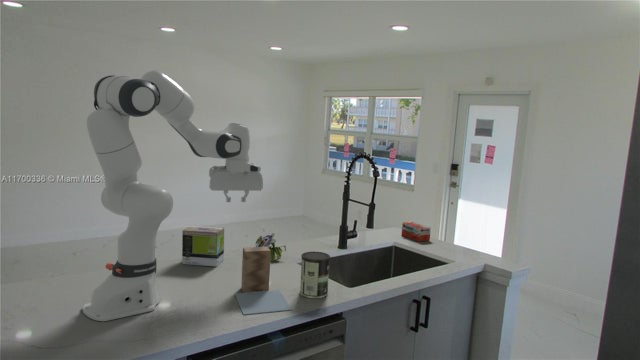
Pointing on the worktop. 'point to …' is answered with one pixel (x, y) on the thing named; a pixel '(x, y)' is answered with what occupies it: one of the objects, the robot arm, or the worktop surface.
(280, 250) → the passion flower
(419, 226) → the medicine box
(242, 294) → the mat
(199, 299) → the worktop surface
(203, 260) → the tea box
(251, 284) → the cardboard box
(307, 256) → the coffee can
